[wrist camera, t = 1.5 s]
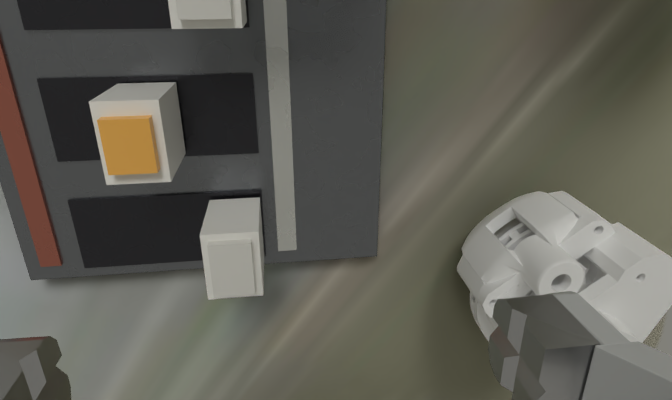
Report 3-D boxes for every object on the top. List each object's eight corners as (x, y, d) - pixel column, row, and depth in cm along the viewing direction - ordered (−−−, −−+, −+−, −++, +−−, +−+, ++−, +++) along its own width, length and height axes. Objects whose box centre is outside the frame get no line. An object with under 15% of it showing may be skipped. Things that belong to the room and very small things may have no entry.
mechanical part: (494, 336, 39) (581, 470, 28) (412, 239, 34) (478, 355, 23) (615, 254, 37) (758, 363, 26) (545, 140, 32) (685, 215, 21)
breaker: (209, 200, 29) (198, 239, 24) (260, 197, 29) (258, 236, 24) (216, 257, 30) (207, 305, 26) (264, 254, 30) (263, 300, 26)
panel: (-65, -88, 23) (-89, -94, 21) (383, -82, 25) (390, -87, 24) (41, 267, 31) (29, 281, 30) (372, 245, 34) (377, 257, 32)
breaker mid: (117, 83, 25) (83, 104, 21) (176, 82, 26) (155, 102, 21) (131, 155, 27) (102, 189, 22) (185, 153, 27) (168, 186, 23)
